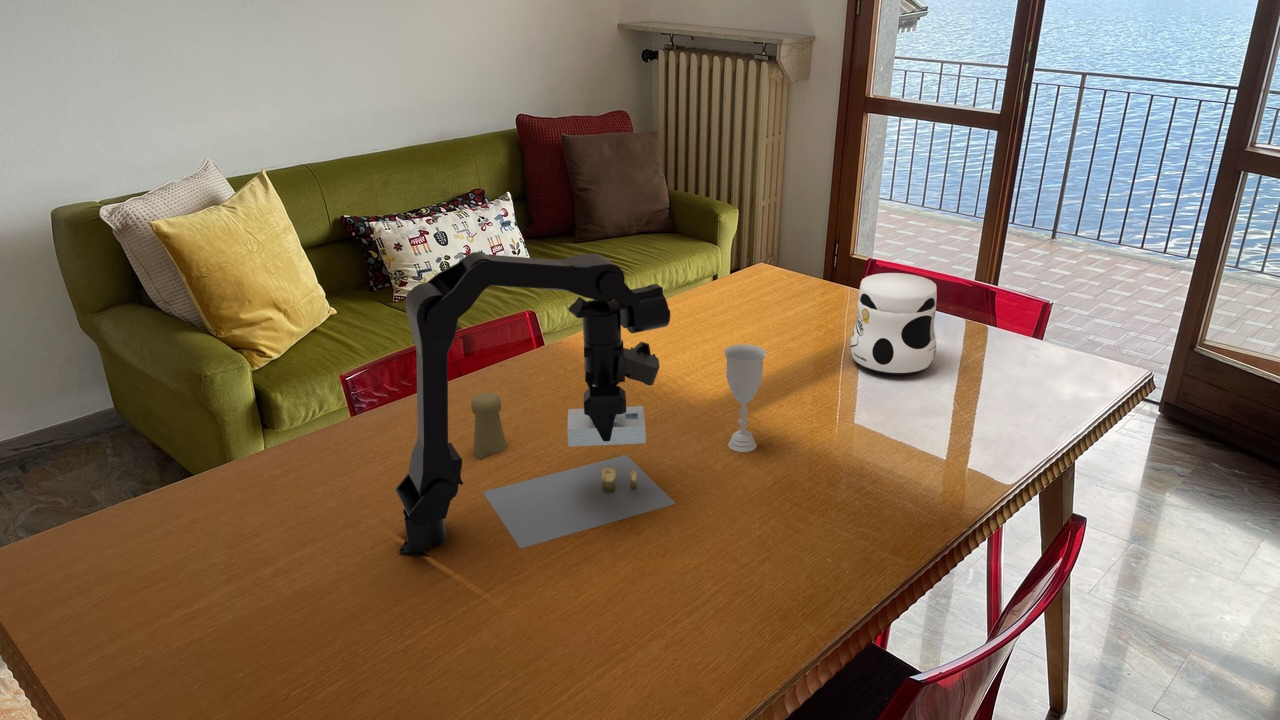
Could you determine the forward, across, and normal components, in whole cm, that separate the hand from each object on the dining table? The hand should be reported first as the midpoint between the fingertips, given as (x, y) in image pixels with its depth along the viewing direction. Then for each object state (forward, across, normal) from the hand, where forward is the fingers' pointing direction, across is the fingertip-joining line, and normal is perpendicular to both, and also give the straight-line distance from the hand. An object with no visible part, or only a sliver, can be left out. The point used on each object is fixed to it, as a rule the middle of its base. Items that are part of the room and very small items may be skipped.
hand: (606, 429), depth 149 cm
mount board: (+12, -2, +5) cm, 13 cm away
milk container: (+12, +47, -60) cm, 78 cm away
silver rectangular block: (+1, 0, 0) cm, 1 cm away
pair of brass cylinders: (+11, 0, -2) cm, 11 cm away
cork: (+12, +16, +21) cm, 29 cm away
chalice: (+12, +15, -24) cm, 31 cm away
